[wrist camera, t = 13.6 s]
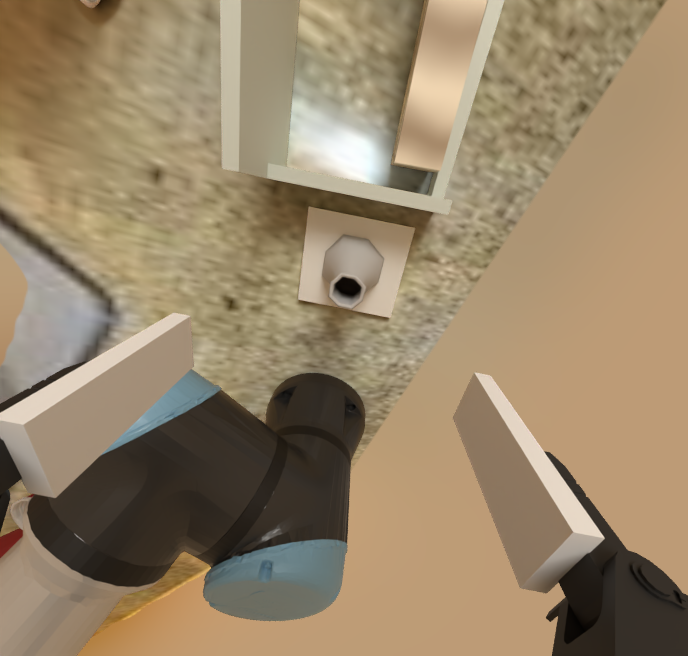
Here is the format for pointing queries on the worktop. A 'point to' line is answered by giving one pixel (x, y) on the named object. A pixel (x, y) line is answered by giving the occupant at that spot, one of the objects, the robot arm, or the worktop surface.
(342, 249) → the flask
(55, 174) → the worktop surface
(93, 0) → the cookie jar
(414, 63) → the light brown wooden block
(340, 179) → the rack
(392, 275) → the mat
